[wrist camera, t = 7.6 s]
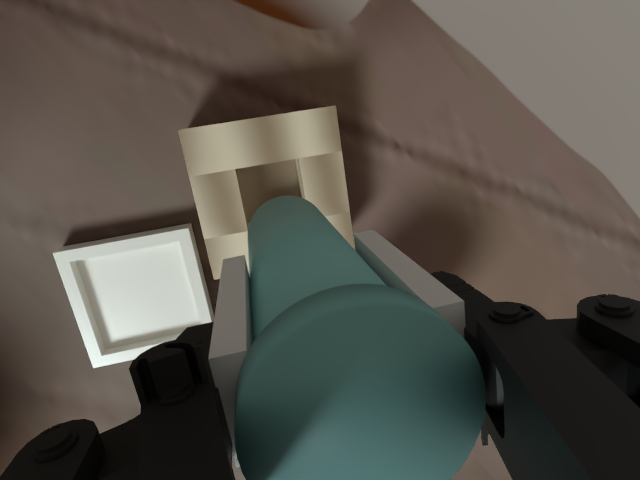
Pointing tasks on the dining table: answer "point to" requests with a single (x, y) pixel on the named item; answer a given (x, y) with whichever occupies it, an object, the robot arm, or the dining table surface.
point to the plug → (345, 364)
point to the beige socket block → (264, 174)
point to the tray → (134, 291)
